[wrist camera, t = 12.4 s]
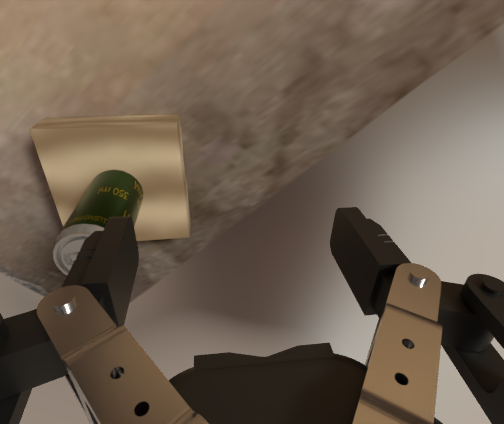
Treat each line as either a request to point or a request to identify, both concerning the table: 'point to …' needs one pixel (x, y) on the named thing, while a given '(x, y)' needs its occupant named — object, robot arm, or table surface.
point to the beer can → (97, 213)
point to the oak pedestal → (119, 165)
